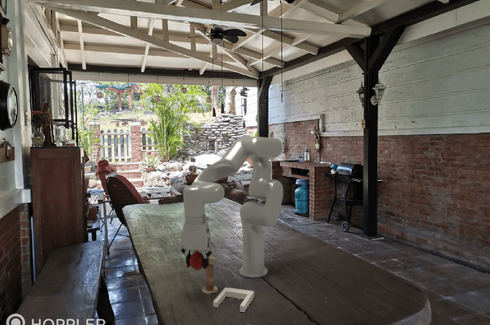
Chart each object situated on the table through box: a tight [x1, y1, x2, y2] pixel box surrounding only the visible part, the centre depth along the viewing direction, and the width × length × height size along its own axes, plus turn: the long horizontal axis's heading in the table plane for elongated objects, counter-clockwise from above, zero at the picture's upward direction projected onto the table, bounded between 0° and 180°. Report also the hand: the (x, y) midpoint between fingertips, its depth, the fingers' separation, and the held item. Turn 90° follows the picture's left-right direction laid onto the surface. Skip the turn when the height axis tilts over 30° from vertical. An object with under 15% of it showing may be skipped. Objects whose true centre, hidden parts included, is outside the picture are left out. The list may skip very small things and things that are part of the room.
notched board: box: [212, 287, 255, 313], centre depth 126 cm, size 12×12×2 cm
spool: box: [201, 256, 219, 293], centre depth 135 cm, size 6×6×13 cm
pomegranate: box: [189, 251, 204, 272], centre depth 128 cm, size 6×6×8 cm
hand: (197, 266), depth 129 cm, fingers closed on pomegranate, 5 cm apart
